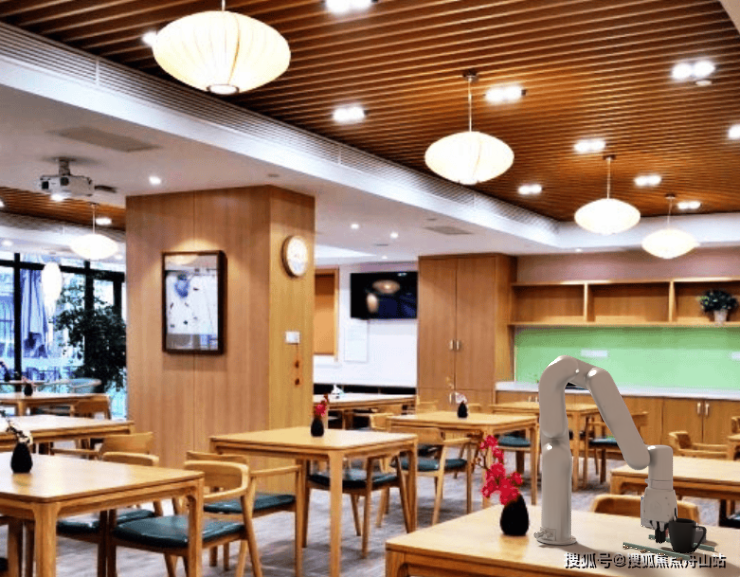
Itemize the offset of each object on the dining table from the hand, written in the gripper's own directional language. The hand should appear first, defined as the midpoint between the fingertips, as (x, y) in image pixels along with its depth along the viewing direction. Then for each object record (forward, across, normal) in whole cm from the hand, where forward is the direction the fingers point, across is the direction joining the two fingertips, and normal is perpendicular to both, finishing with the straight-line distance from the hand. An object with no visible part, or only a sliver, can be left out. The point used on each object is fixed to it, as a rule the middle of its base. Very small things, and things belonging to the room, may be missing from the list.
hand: (660, 542), depth 285 cm
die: (+1, -6, +12) cm, 13 cm away
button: (+1, +2, +16) cm, 16 cm away
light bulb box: (+2, -16, +27) cm, 31 cm away
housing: (+1, +2, +16) cm, 16 cm away
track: (+1, +3, -2) cm, 3 cm away
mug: (+2, +9, 0) cm, 9 cm away
